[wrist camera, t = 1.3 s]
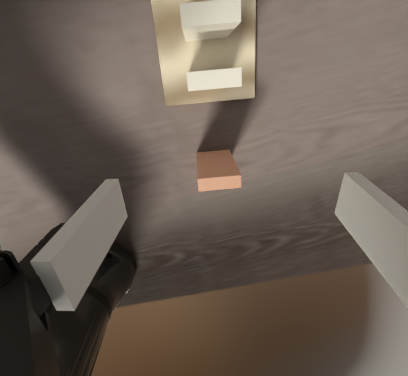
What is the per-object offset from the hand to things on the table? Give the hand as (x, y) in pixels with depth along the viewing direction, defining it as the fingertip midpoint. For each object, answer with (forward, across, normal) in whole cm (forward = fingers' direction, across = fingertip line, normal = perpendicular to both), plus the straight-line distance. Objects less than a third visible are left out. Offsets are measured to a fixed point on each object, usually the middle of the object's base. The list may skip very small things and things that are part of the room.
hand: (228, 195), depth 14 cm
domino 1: (+22, +2, -10) cm, 24 cm away
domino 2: (+21, +2, -5) cm, 22 cm away
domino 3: (+22, +1, +6) cm, 23 cm away
